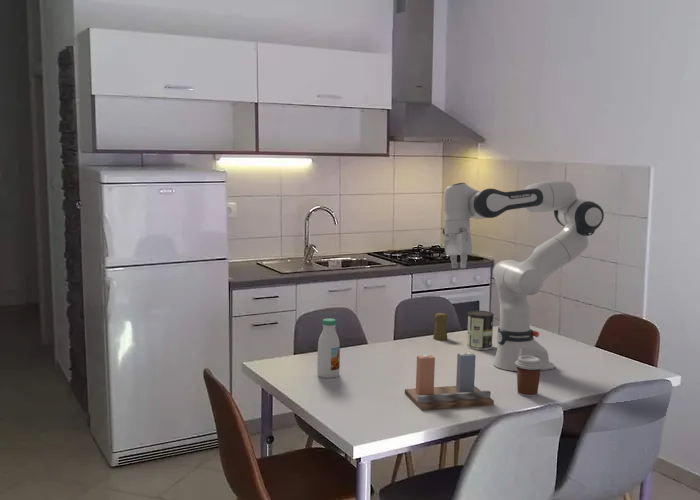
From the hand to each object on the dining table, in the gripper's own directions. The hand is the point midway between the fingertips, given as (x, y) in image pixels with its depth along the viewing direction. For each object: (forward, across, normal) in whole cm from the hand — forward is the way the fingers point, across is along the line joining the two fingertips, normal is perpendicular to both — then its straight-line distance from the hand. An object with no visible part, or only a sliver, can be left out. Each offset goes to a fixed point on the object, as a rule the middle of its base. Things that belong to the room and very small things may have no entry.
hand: (459, 268), depth 259 cm
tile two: (+40, -19, +6) cm, 44 cm away
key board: (+42, -22, +12) cm, 49 cm away
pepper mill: (+31, +51, -7) cm, 60 cm away
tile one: (+39, -20, +20) cm, 48 cm away
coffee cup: (+42, -19, -16) cm, 49 cm away
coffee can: (+33, +38, -19) cm, 54 cm away
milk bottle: (+36, +6, +47) cm, 60 cm away
